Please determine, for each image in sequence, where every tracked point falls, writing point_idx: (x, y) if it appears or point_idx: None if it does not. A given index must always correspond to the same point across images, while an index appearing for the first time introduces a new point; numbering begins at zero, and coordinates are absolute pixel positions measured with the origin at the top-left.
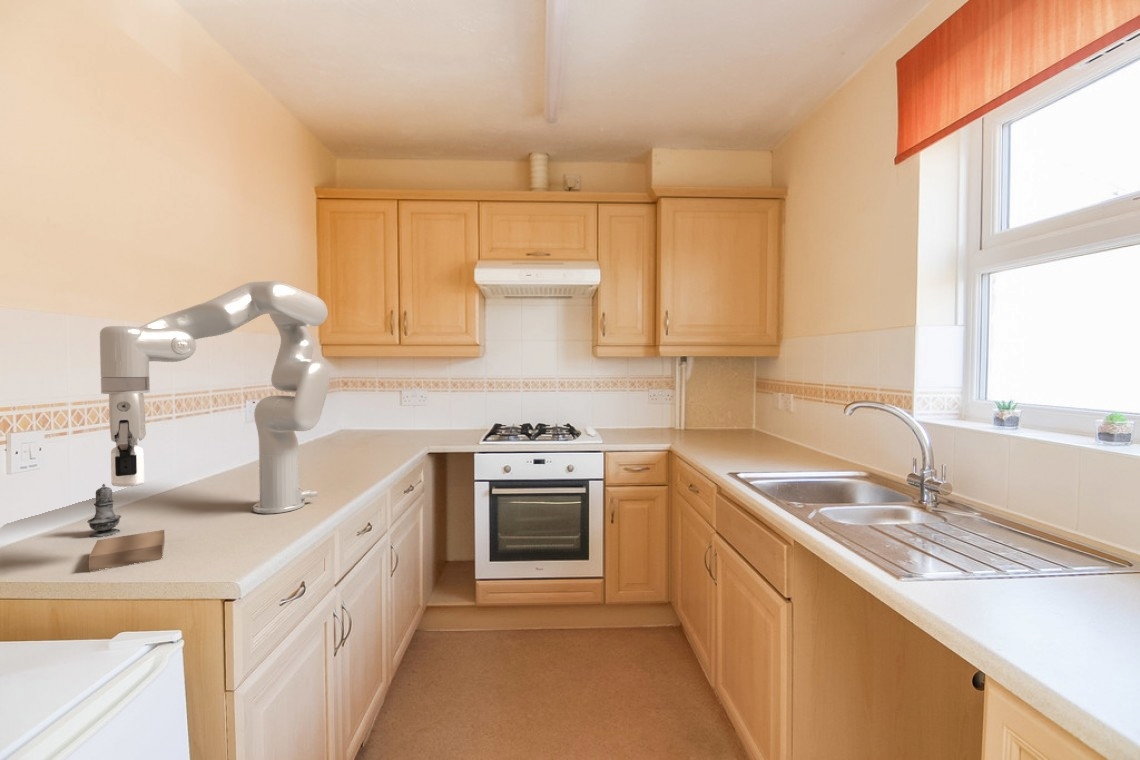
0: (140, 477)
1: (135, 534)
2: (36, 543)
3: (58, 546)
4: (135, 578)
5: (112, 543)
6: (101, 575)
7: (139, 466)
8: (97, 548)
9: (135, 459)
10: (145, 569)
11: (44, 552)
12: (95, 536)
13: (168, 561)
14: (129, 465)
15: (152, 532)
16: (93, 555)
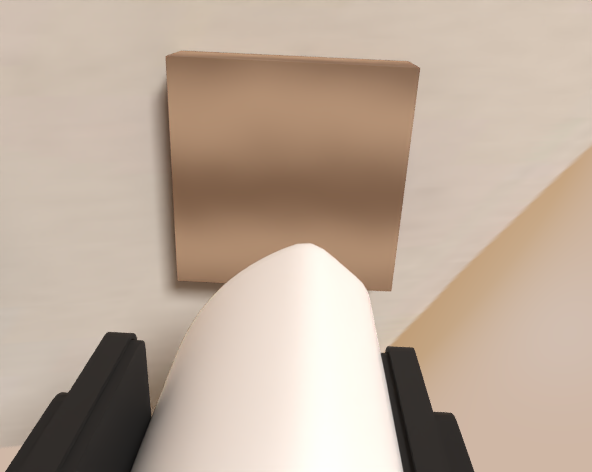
0: (349, 291)
1: (175, 166)
2: None
3: (24, 354)
4: (569, 142)
5: (262, 235)
6: (446, 233)
7: (367, 363)
8: None
9: (442, 465)
10: (493, 115)
11: (75, 378)
12: None
13: (459, 39)
14: (465, 459)
15: (182, 104)
16: (382, 280)
